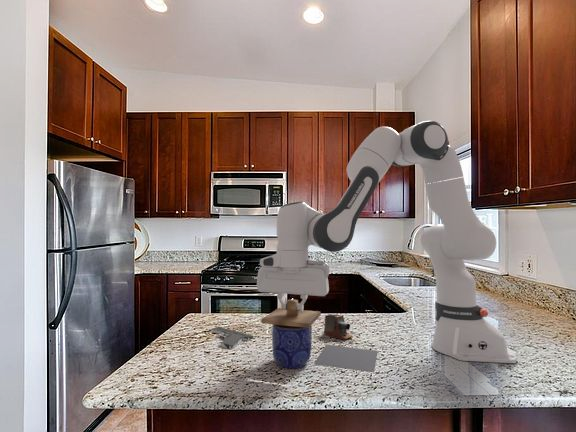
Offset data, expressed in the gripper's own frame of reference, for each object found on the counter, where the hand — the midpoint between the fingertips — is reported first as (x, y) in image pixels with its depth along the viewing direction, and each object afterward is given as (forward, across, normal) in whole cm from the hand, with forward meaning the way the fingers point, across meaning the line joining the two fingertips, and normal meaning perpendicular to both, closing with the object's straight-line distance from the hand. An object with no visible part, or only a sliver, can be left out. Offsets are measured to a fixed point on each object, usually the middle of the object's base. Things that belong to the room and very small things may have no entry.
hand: (292, 309), depth 93 cm
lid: (+2, 0, 0) cm, 2 cm away
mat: (+15, -14, -9) cm, 22 cm away
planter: (+15, 0, 0) cm, 15 cm away
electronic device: (+15, -8, -26) cm, 32 cm away
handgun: (+15, +28, -13) cm, 35 cm away
